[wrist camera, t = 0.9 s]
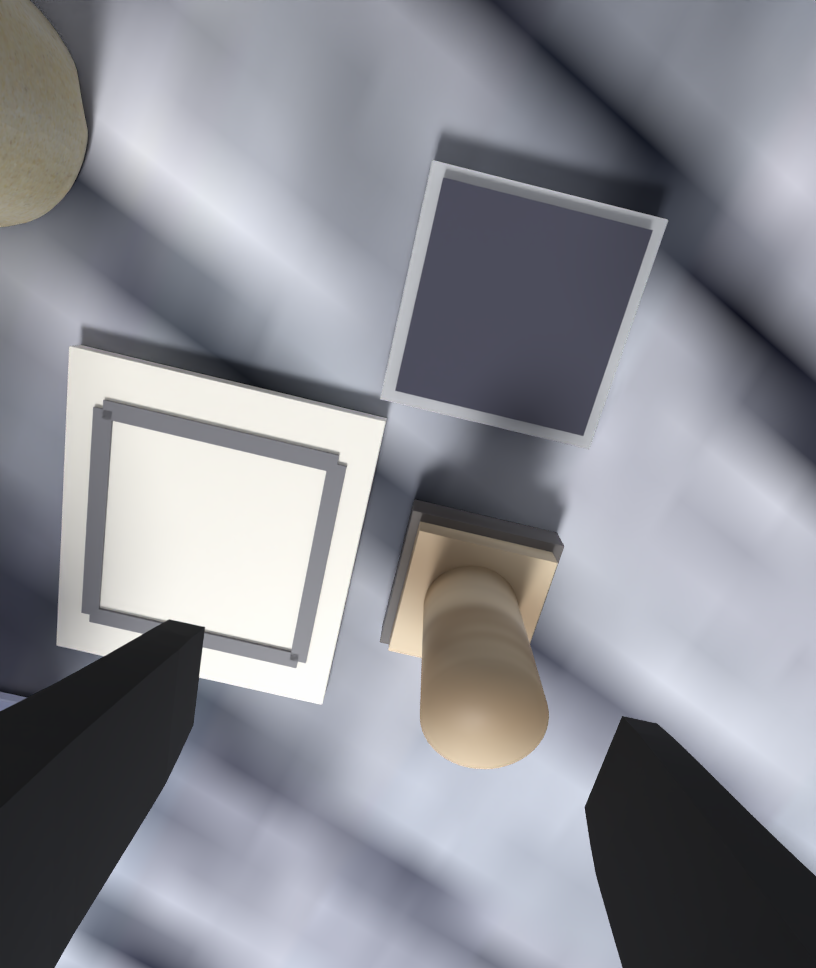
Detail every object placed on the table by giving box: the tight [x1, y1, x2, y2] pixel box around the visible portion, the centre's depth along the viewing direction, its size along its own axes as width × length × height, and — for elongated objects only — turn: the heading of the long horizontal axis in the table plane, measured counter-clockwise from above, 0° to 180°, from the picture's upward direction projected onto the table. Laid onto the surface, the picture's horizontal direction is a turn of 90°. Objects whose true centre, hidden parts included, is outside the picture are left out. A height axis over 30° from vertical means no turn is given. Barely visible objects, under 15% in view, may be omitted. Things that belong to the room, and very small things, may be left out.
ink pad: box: [380, 160, 668, 449], centre depth 16 cm, size 7×7×1 cm
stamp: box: [380, 499, 564, 769], centre depth 16 cm, size 5×5×7 cm
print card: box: [56, 345, 387, 705], centre depth 19 cm, size 11×10×1 cm
